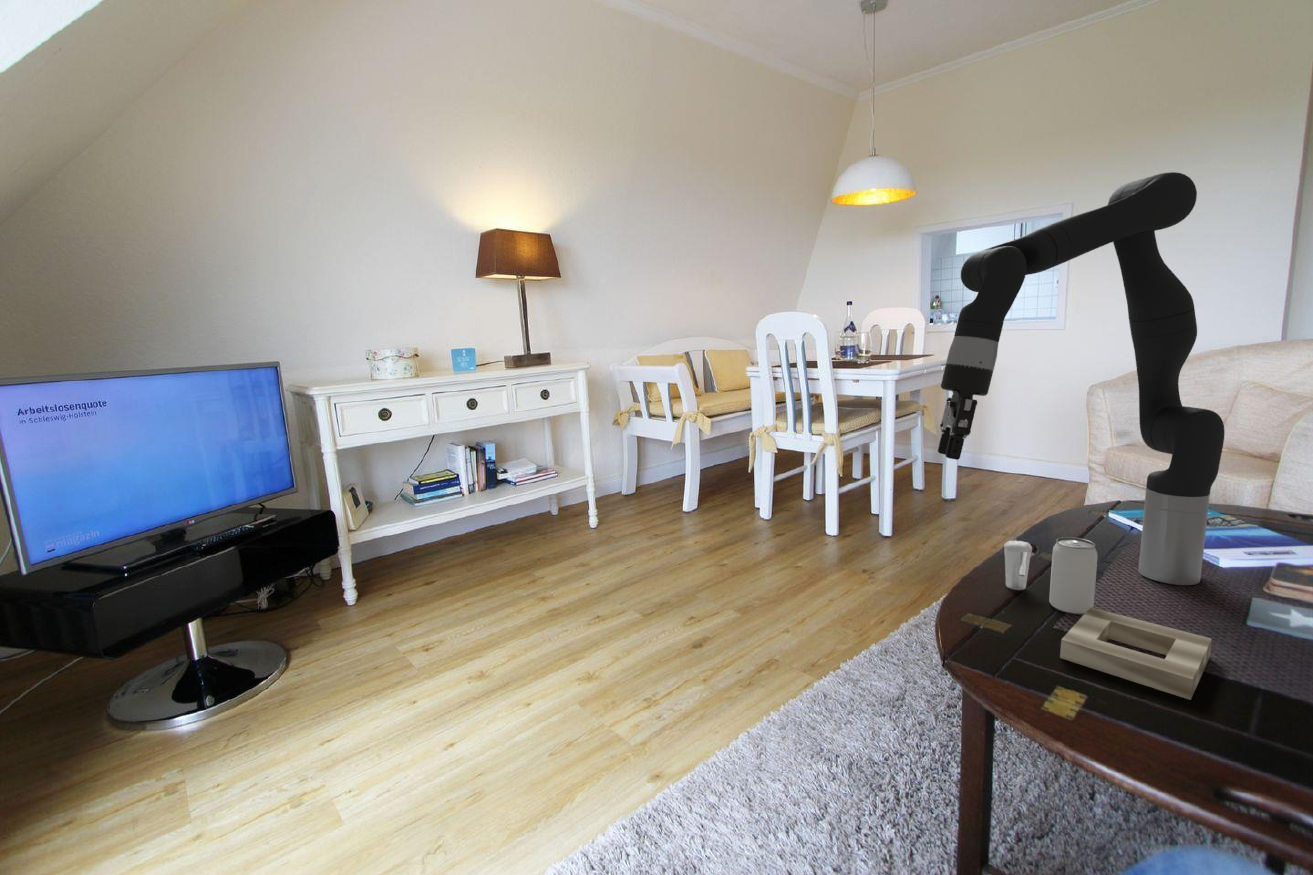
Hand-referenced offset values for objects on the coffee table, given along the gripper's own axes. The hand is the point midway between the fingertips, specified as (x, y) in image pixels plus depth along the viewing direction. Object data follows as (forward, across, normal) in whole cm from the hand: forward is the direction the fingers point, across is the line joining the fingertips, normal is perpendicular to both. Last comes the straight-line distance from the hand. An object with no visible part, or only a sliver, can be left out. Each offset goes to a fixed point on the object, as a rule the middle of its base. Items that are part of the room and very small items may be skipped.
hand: (947, 456), depth 107 cm
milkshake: (+23, +12, -19) cm, 32 cm away
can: (+22, +5, -26) cm, 35 cm away
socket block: (+23, -12, -29) cm, 39 cm away
